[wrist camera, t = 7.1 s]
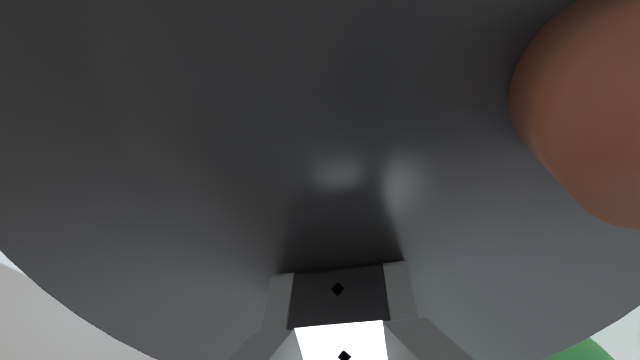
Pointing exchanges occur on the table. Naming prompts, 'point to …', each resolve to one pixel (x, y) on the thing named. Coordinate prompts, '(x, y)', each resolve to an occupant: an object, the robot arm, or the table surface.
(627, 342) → the table surface
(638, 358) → the table surface
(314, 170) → the lid
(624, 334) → the table surface
